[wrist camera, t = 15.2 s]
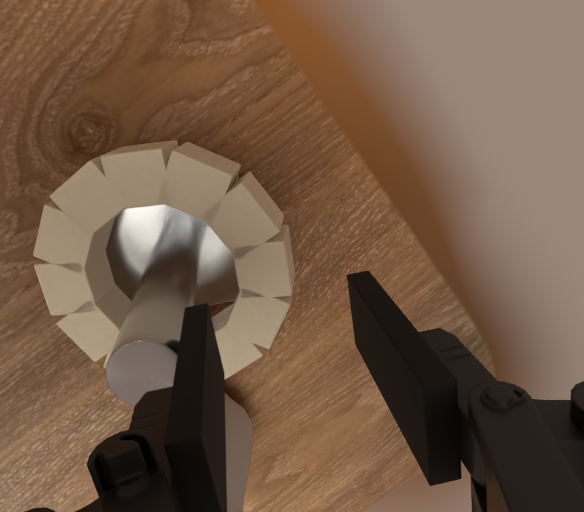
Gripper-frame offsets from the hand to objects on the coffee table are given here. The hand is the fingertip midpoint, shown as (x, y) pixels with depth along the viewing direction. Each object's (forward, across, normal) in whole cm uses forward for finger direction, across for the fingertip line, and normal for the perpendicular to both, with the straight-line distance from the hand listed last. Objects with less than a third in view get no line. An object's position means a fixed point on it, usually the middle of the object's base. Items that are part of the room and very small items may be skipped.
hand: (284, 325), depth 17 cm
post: (+13, -4, 0) cm, 13 cm away
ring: (+9, -4, 0) cm, 10 cm away
